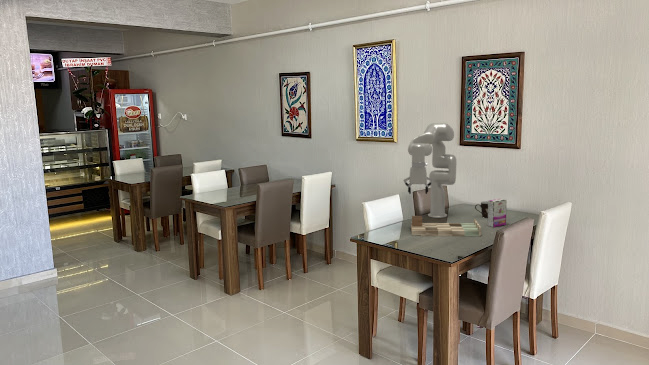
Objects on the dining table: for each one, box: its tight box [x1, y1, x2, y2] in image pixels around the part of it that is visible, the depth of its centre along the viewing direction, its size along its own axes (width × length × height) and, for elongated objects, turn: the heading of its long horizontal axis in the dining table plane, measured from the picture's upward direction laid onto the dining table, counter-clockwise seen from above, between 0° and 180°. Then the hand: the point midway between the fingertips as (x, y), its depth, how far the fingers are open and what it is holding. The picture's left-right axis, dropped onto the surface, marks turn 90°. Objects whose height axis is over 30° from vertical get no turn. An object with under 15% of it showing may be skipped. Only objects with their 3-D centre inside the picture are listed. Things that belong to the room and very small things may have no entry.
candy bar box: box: [487, 198, 507, 228], centre depth 302 cm, size 11×5×16 cm, turn 117°
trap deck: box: [410, 219, 482, 237], centre depth 291 cm, size 19×39×6 cm, turn 82°
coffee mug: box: [474, 200, 489, 219], centre depth 326 cm, size 12×9×10 cm
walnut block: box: [411, 215, 423, 226], centre depth 298 cm, size 6×6×5 cm
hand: (418, 193), depth 292 cm, fingers open, 9 cm apart
